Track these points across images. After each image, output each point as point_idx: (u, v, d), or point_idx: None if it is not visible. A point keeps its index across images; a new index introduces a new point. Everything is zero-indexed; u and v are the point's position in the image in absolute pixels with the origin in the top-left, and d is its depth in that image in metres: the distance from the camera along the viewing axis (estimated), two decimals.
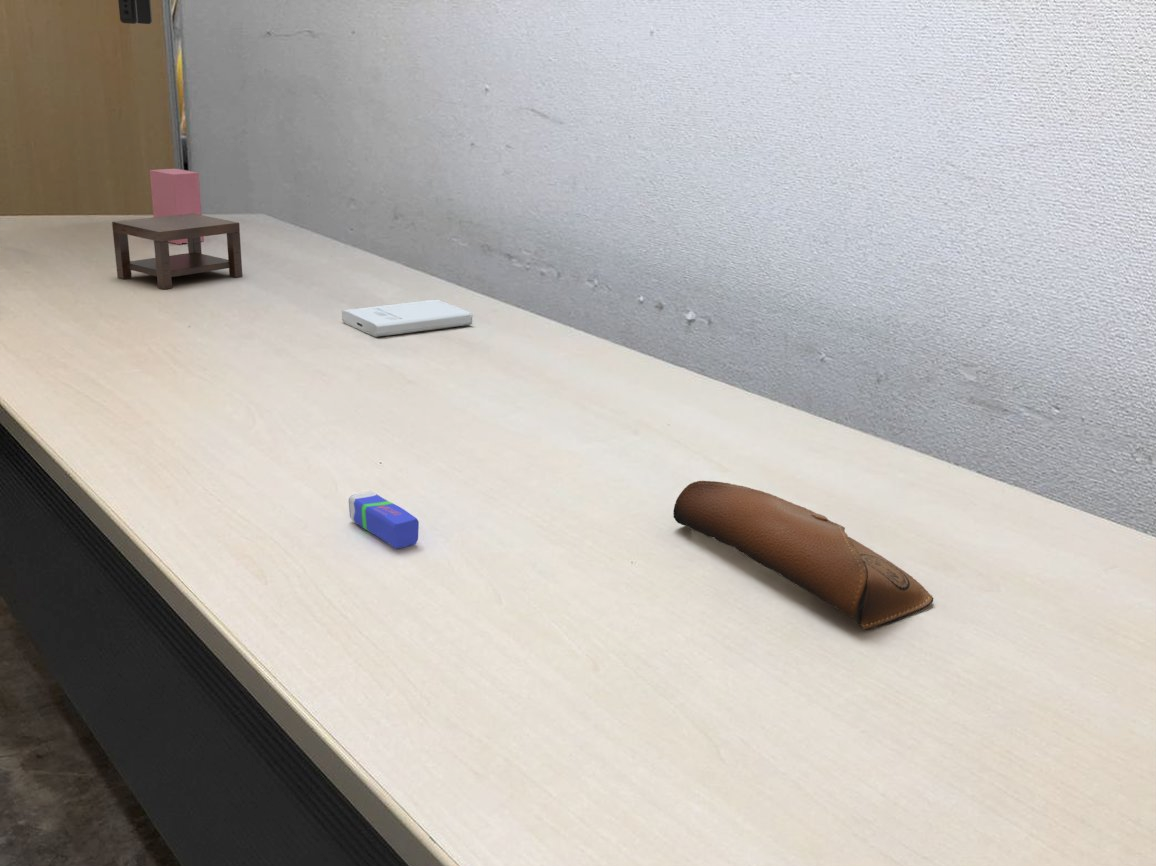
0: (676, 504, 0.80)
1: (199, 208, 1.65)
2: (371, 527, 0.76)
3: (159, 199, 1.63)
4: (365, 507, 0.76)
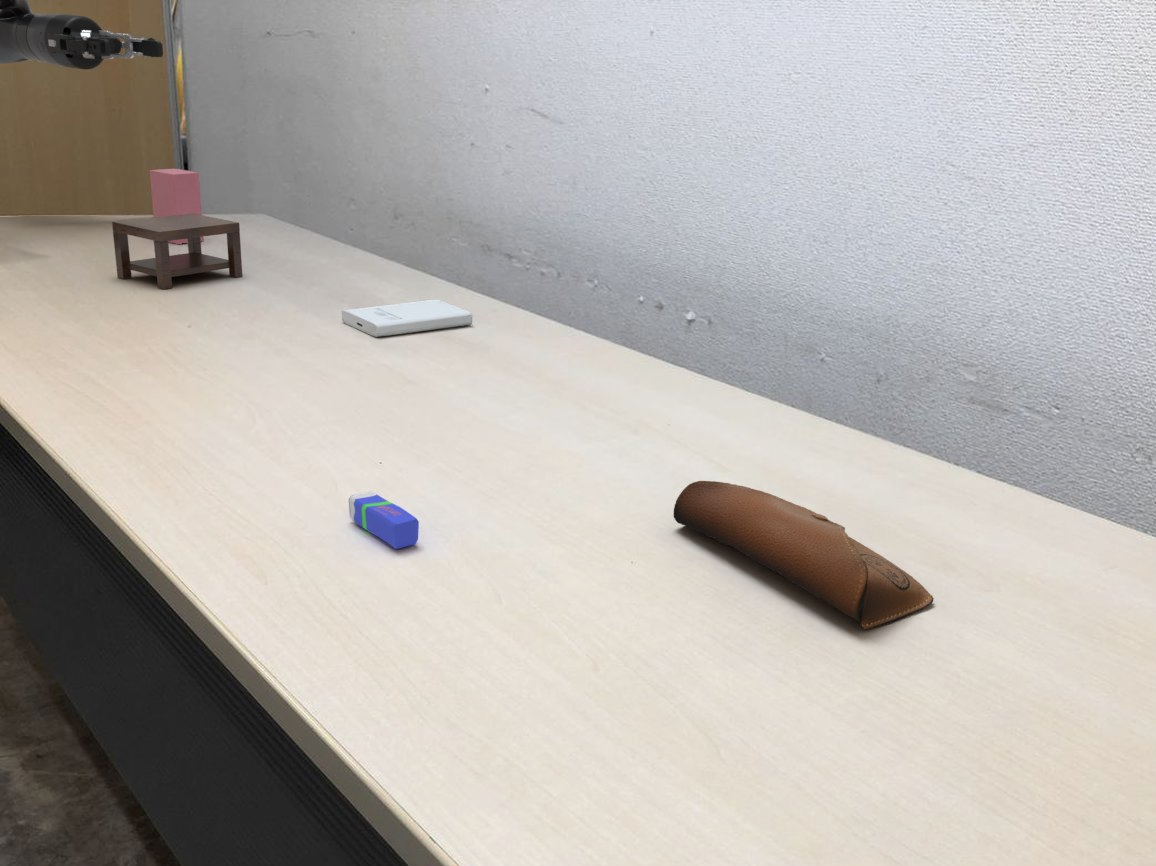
0: (676, 504, 0.80)
1: (199, 208, 1.65)
2: (371, 527, 0.76)
3: (159, 199, 1.63)
4: (365, 507, 0.76)
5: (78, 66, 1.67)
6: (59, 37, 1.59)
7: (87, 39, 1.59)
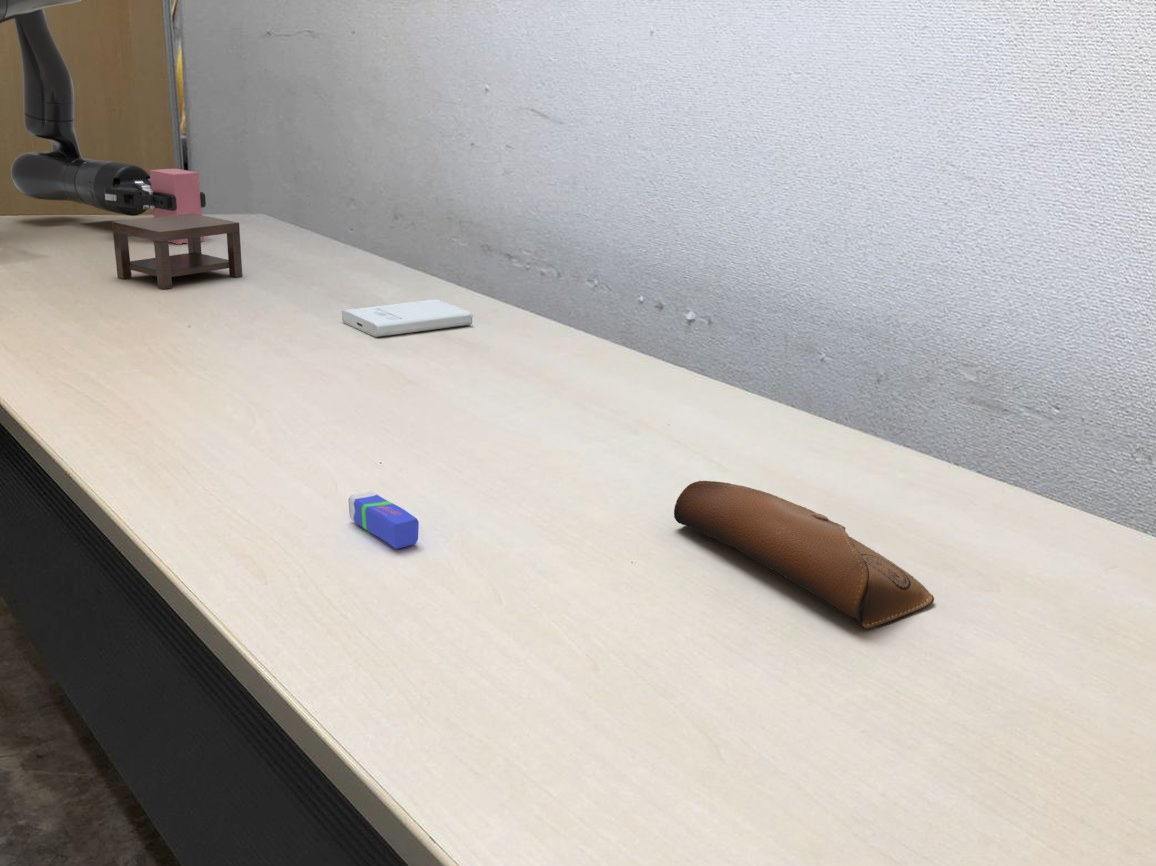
0: (677, 504, 0.80)
1: (199, 208, 1.65)
2: (371, 527, 0.76)
3: None
4: (365, 507, 0.76)
5: (127, 213, 1.69)
6: (123, 192, 1.61)
7: (154, 193, 1.62)
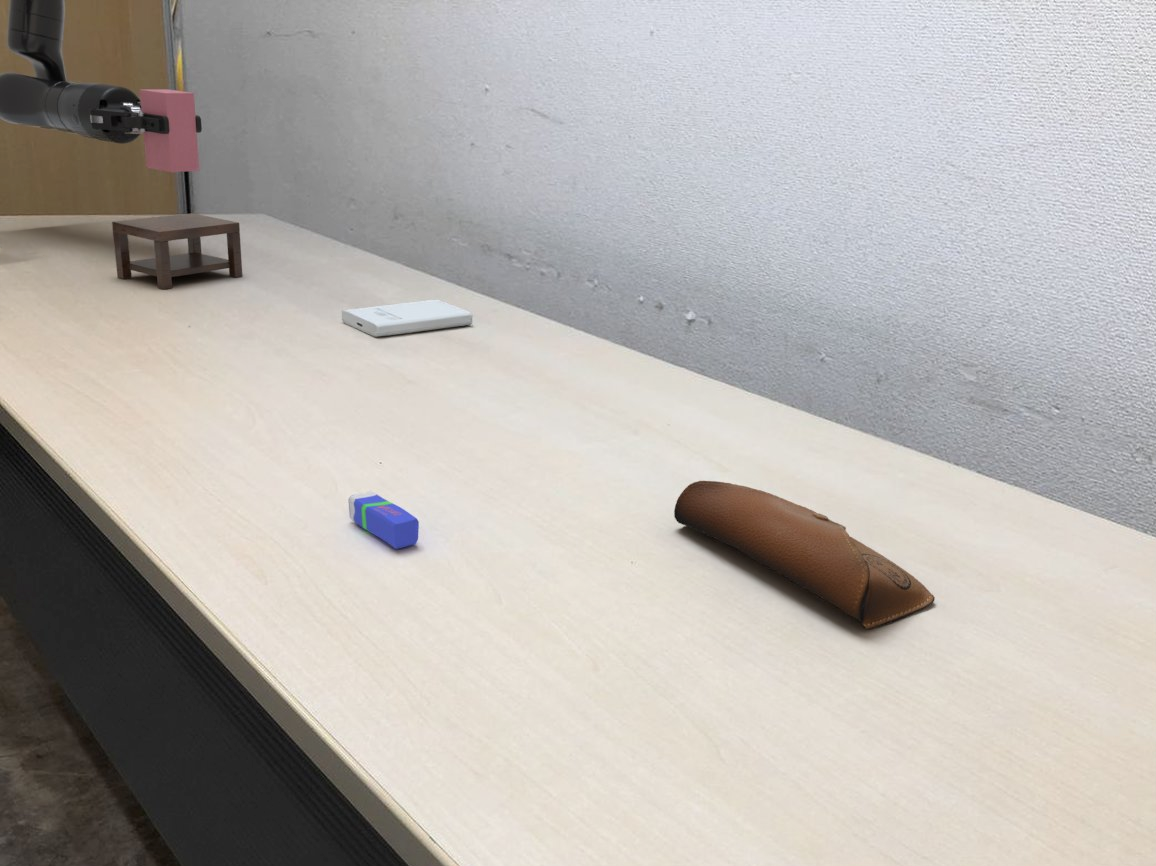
0: (677, 504, 0.80)
1: (194, 133, 1.50)
2: (371, 527, 0.76)
3: None
4: (365, 507, 0.76)
5: (115, 140, 1.53)
6: (110, 113, 1.46)
7: (145, 115, 1.47)
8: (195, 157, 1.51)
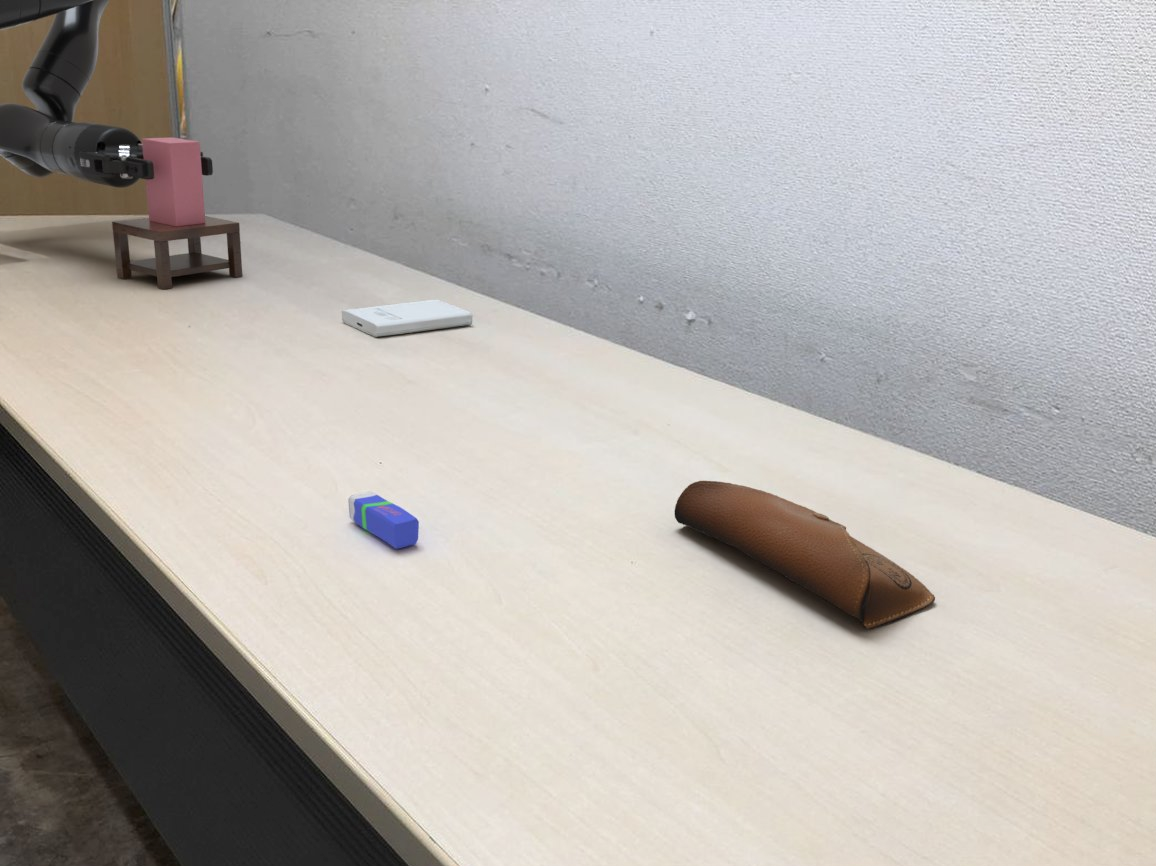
0: (677, 504, 0.80)
1: (200, 184, 1.40)
2: (371, 527, 0.76)
3: None
4: (365, 507, 0.76)
5: (113, 185, 1.44)
6: (94, 157, 1.36)
7: (126, 159, 1.36)
8: (201, 209, 1.41)
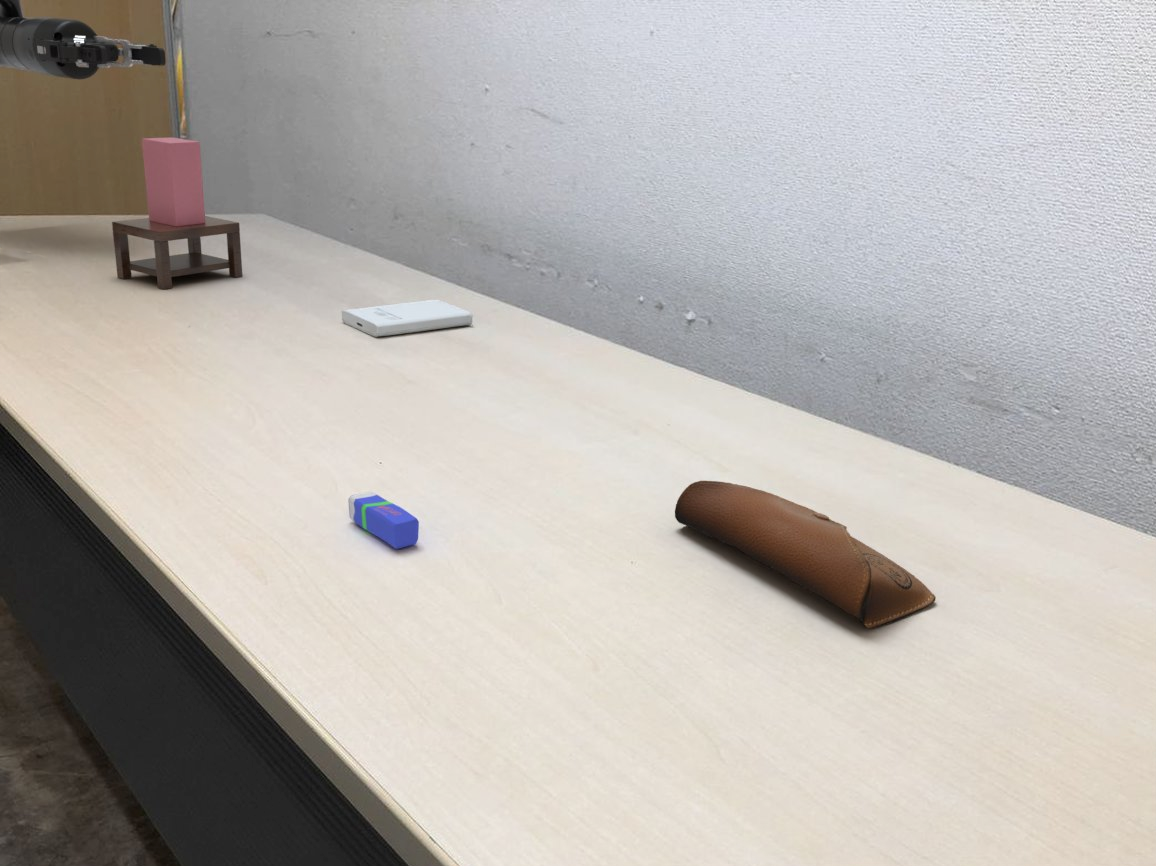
0: (677, 504, 0.80)
1: (200, 184, 1.40)
2: (371, 527, 0.76)
3: (153, 173, 1.38)
4: (365, 507, 0.76)
5: (70, 76, 1.50)
6: (49, 43, 1.42)
7: (81, 45, 1.42)
8: (201, 209, 1.41)
